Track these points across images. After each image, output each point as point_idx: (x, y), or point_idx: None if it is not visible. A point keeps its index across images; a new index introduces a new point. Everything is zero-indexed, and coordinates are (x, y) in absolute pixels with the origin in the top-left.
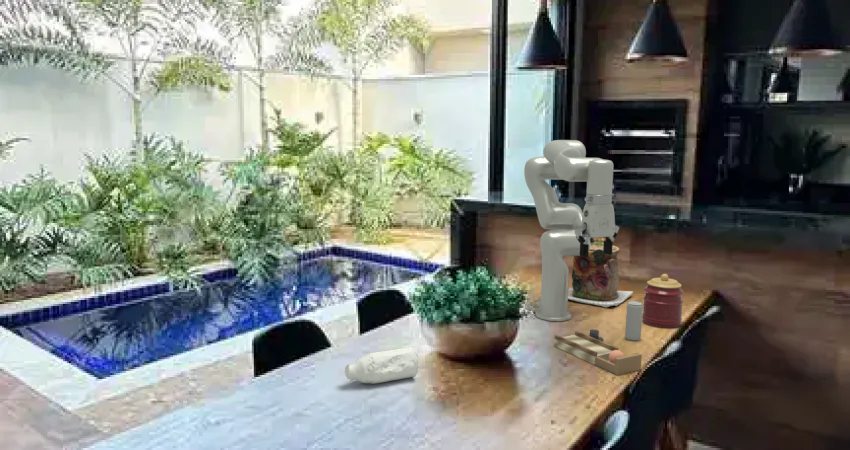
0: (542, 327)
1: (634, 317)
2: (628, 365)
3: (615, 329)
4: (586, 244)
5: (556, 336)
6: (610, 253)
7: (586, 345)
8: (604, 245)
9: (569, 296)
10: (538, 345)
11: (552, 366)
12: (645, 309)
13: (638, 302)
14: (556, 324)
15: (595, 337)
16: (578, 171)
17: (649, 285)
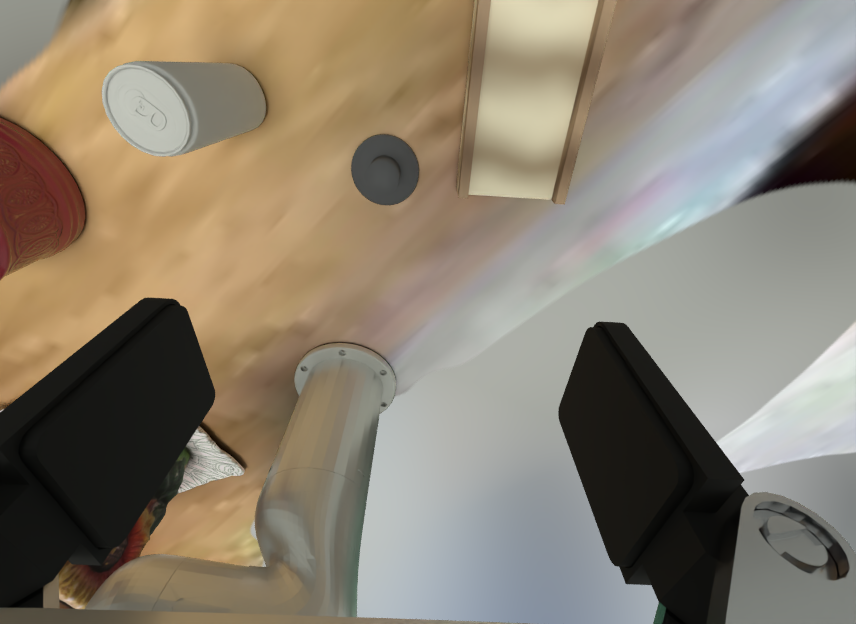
0: (442, 332)
1: (206, 77)
2: None
3: (236, 215)
4: (726, 493)
5: (566, 191)
6: (166, 307)
7: (530, 68)
8: (155, 471)
9: (203, 461)
10: (586, 222)
11: (752, 17)
12: (42, 231)
13: (115, 117)
14: (386, 333)
15: (390, 159)
16: None
17: None
